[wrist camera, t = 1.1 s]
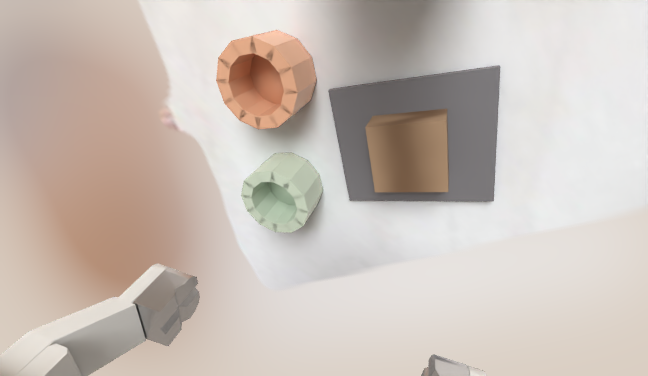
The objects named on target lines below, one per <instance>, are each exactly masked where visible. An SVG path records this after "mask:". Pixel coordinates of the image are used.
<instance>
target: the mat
mask: <svg viewBox="0 0 648 376" xmlns="http://www.w3.org/2000/svg"><path fill="white" fill-rule="evenodd" d="M499 81H500V66H492V67H485V68H477V69H470V70H463V71H456V72H449V73H442V74H434V75H427V76H420V77H413V78H406V79H398V80H391V81H384V82H377V83H370V84H362V85H355V86H348V87H341V88H334V89H330V90H329V96H330V101H331V106H332V111H333V116H334V121H335V127H336V132H337V137H338V142H339V147H340V152H341V157H342V162H343V168H344V173H345V178H346V183H347V188H348V193H349V198H350V200H374V201H494V183H495V163H496V142H497V122H498V101H499ZM438 109H447V118H448V156H449V187H448V192H375V189H374V182H373V175H372V169H371V162H370V155H369V149H368V142H367V135H366V129H365V127H366V126H367V124H368V122H369V121H370V119H371V118H372V116H377V115H387V114H397V113H407V112H418V111H428V110H438Z"/></svg>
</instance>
